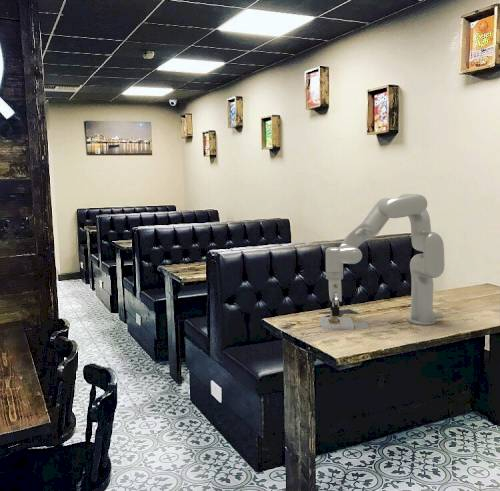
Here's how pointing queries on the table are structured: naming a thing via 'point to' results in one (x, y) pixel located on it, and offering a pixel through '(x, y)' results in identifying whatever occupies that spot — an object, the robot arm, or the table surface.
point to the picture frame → (340, 312)
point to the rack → (340, 323)
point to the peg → (333, 318)
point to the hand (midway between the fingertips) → (334, 313)
